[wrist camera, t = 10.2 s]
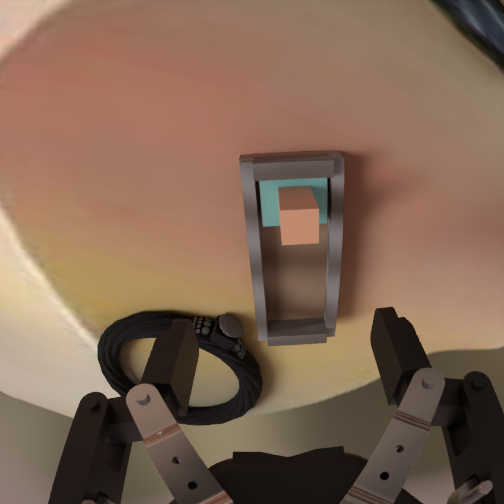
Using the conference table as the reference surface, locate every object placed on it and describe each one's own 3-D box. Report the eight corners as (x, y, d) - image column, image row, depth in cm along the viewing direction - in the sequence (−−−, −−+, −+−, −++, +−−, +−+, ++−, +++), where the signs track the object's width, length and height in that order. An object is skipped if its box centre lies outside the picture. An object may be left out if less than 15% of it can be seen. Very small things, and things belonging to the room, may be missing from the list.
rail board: (240, 155, 31) (236, 165, 27) (338, 150, 30) (348, 160, 26) (257, 322, 42) (256, 346, 38) (332, 318, 41) (337, 341, 37)
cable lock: (78, 380, 47) (133, 275, 35) (86, 365, 51) (144, 258, 38) (205, 442, 54) (312, 376, 42) (208, 427, 58) (310, 356, 45)
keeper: (259, 173, 30) (256, 199, 24) (324, 170, 30) (340, 195, 23) (263, 220, 33) (261, 257, 26) (324, 216, 32) (338, 252, 26)
